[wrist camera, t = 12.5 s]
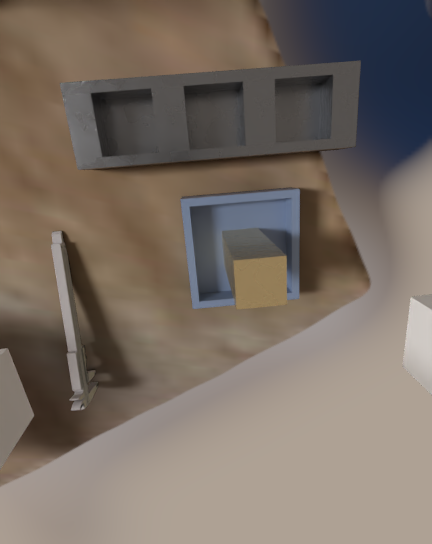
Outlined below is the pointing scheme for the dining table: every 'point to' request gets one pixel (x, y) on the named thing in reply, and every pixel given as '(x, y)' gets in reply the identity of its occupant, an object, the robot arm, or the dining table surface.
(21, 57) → the dining table surface
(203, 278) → the tray
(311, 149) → the socket rail
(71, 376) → the caliper
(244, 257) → the brass peg
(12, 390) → the robot arm
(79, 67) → the dining table surface
